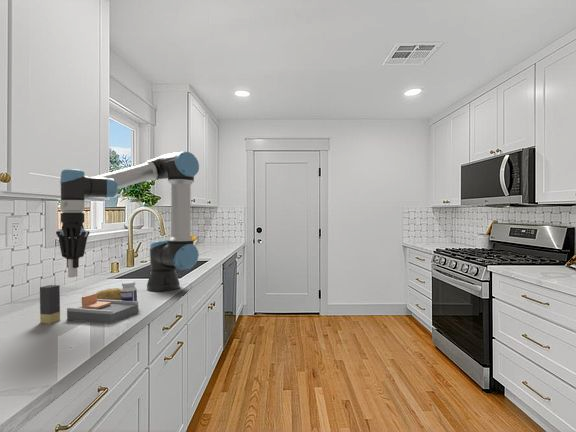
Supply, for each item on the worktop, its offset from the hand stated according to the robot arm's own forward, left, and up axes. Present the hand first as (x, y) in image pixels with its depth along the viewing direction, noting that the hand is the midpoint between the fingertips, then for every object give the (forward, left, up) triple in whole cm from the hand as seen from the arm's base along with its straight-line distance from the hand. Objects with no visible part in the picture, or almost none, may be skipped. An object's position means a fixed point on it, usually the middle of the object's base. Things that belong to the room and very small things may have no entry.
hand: (72, 276), depth 136 cm
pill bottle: (-12, +14, -14) cm, 23 cm away
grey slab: (0, +13, -14) cm, 19 cm away
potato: (-15, +2, -14) cm, 21 cm away
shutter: (0, +10, -10) cm, 14 cm away
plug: (+10, 0, -14) cm, 17 cm away
